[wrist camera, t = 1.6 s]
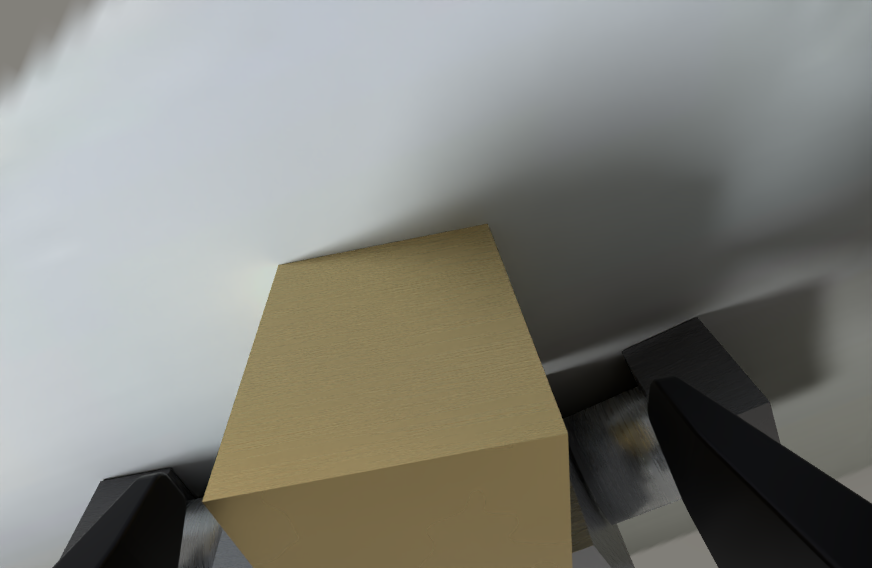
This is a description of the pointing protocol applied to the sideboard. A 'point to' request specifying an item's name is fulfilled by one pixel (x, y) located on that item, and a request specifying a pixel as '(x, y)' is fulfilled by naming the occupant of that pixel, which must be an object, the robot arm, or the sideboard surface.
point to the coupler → (395, 418)
